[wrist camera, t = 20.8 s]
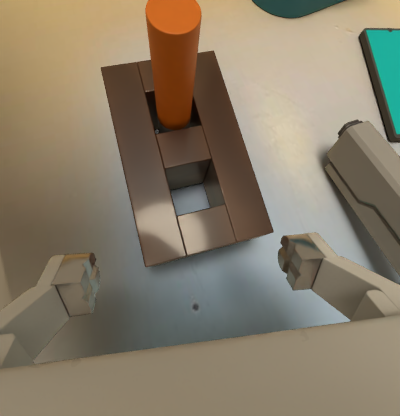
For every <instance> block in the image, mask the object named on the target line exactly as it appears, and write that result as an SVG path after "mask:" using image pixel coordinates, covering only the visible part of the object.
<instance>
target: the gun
mask: <svg viewBox="0 0 400 416" xmlns="http://www.w3.org/2000/svg"><path fill="white" fill-rule="evenodd" d="M338 135H339V136H338V138H339V139H338V140H337V142H336V143H335V144H334V145H333V147H332V148H331V149H330V150H329V152H328V153H327V156H328V157H329V159H330V160H331V162H329V163H328V164H327V165H326V168H325V170H326V171H327V172H328V174H329V175H330V177H331V178H332V180H333V181H334V183H335V184H336V185H337V187H338V188H339V190H340V191H341V193H342V194H343V196H344V197H345V198H346V200H347V201H348V203H349V204H350V206H351V207H352V209H353V210H354V211H355V213H356V214H357V216H358V217H359V219H360V220H361V222H362V223H363V224H364V226H365V227H366V229H367V230H368V232H369V233H370V234H371V236H372V237H373V239H374V240H375V242H376V243H377V245H378V246H379V247H380V249H381V250H382V252H383V253H384V255H385V256H386V258H387V259H388V260H389V262H390V263H391V265H392V266H393V268H394V269H395V271H396V272H397V273H398V275H399V276H400V157H399V155H398V154H397V153H396V152H395V151H394V150H393V148H392V147H391V146H390V145H389V144H388V143H387V141H386V140H385V139H384V138H383V137H382V136H381V134H380V133H379V132H378V131H377V130H376V129H375V128H374V126H373V125H372V124H371V123H370V122H369V121H366V122H362V121H359V120H354V121H351V122H348V123H346V124H345V125H344V126H343V127H342V128H341V130H340V131H339V132H338Z"/></svg>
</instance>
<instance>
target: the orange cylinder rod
mask: <svg viewBox="0 0 400 416" xmlns="http://www.w3.org/2000/svg"><path fill="white" fill-rule="evenodd" d="M146 21H147V29H148V38H149V47H150V56H151V64H152V73H153V82H154V90H155V99H156V108H157V116H158V125H159V133H165V132H170V131H175V130H180V129H185V128H189V126H190V117H191V108H192V98H193V89H194V80H195V71H196V62H197V52H198V43H199V34H200V25H201V9H200V7H199V5H198V3H197V2H196V0H148V2H147V5H146Z"/></svg>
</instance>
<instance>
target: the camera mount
mask: <svg viewBox="0 0 400 416" xmlns="http://www.w3.org/2000/svg"><path fill="white" fill-rule="evenodd" d="M253 1H254V3H256V4H257V5H258V6H259V7H260V8H262V9H263V10H265V11H267V12H269V13H271V14H274V15H277V16H280V17H287V18H296V17H302V16H305V15H308V14H310V13H313V12H316V11H318V10H321V9H323V8H326V7H329V6H331V5H334V4H337V3H339V2H342V1H345V0H253Z"/></svg>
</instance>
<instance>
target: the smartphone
mask: <svg viewBox="0 0 400 416" xmlns="http://www.w3.org/2000/svg"><path fill="white" fill-rule="evenodd" d="M359 36H360V40H361V43H362V47H363V50H364V54H365V57H366V61H367V64H368V68H369V71H370V75H371V78H372V82H373V85H374V89H375V92H376V96H377V99H378V103H379V106H380V110H381V113H382V117H383V120H384V124H385V127H386V130H387V134H388V137H389V140H390V141H400V29H392V28H387V29H386V28H365V29H364V30H363V31H362V32H361V34H360V35H359Z"/></svg>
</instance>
